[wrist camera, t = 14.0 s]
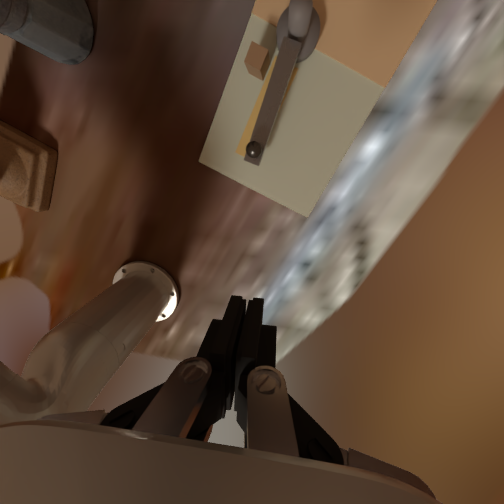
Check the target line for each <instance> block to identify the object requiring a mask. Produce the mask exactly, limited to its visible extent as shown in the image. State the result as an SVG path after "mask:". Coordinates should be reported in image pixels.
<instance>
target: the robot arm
mask: <svg viewBox="0 0 504 504" xmlns="http://www.w3.org/2000/svg"><path fill="white" fill-rule="evenodd" d="M178 302H179V292H178V288H177V286H176V283H175V281H174V280H173V279H172V277H171V276H170V275H169V274H168V273H167V272H166V271H165V270H164V269H162V268H161V267H159V266H157V265H155V264H153V263H150V262H146V261H134V262H130V263H128V264H126V265H124V266H122V267H121V268H120V269H119V270H118V271H117V272H116V274H115V276H114V279H113V285H112V286H110V287H109V288H107V289H106V290H105V291H103V292H102V293H101V294H99V295H98V296H97V297H95V298H94V299H93V300H91V301H90V302H88V303H87V304H86V305H84V306H83V307H82V308H80V309H79V310H78V311H76V312H75V313H74V314H72V315H71V316H69V317H68V318H67V319H65V320H64V321H63V322H61V323H60V324H59V325H57V326H56V327H55V328H53V329H52V330H51V331H49V332H48V333H47V334H45V335H44V336H43V337H42V338H41V339H40V340H39V341H38V343H37V344H36V345H35V347H34V348H33V350H32V351H31V353H30V355H29V357H28V359H27V362H26V364H25V367H24V369H23V373H22V375H21V377H20V376H19V375H18V374H15V373H14V372H13V371H11V370H10V369H9V368H8V367H7V366H6V365H4V364H3V363H2V362H1V361H0V504H443V503H441V502H440V501H438V500H436V498H435V495H434V494H433V492H432V491H431V490H430V488H429V487H428V485H426V484H425V483H424V482H423V481H422V480H421V479H420V478H419V477H418V476H416V475H414V474H412V473H411V472H408V471H406V470H404V469H401V468H399V467H396V466H394V465H391V464H388V463H386V462H383V461H381V460H378V459H376V458H373V457H371V456H369V455H366V454H363V453H361V452H359V451H356V450H354V449H351V448H348V451H347V450H344V449H342V448H339V446H338V445H337V444H336V442H335V441H334V440H333V439H332V438H331V437H330V436H329V435H328V434H327V433H326V431H324V429H323V428H322V427H321V426H320V425H319V424H318V423H317V422H315V420H314V419H313V418H312V417H311V416H310V415H309V414H308V413H307V412H306V411H305V410H304V409H303V408H302V407H301V406H300V405H299V404H298V403H297V402H296V401H295V400H294V399H293V398H292V397H291V396H290V395H289V394H288V393H287V388H286V382H285V379H284V376H283V375H282V374H281V372H280V371H278V370H277V369H276V368H275V362H276V331H277V326H270V325H262V318H263V304H264V299H262V298H253V300H249V302H248V306H247V311H246V300H245V299H242V296H233V295H232V296H231V298H230V301H229V303H228V306H227V309H226V312H225V314H224V317H223V320H217V319H213V320H212V322H211V324H210V326H209V328H208V331H207V333H206V335H205V338H204V340H203V342H202V344H201V347H200V349H199V351H198V354H197V356H196V357H190V358H187V359H185V360H183V361H182V362H180V363H179V364H178V365H177V366H176V368H175V369H174V371H173V372H172V373H171V375H170V376H169V378H168V379H167V381H166V382H164V383H163V384H161V385H159V386H157V387H155V388H153V389H151V390H149V391H147V392H145V393H143V394H141V395H139V396H138V397H135V398H133V399H131V400H129V401H128V402H126V403H124V404H122V405H120V406H118V407H116V408H115V409H113V410H112V411H111V412H110V413H106V412H105V410H96V411H87V410H88V408H89V407H90V405H91V404H92V403H93V401H94V400H95V398H96V397H97V396H98V394H99V393H100V392H101V390H102V389H103V388H104V386H105V385H106V384H107V382H108V381H109V380H110V379H111V377H112V376H113V375H114V374H115V372H116V371H117V370H118V369H119V367H120V366H121V365H122V364H123V362H124V361H125V360H126V358H127V357H128V356H129V355H130V353H131V352H132V351H133V350H134V348H135V347H136V346H137V345H138V343H139V342H140V341H141V339H142V338H143V337H144V336H145V334H146V333H147V332H148V331H149V329H150V328H151V327H152V325H153V324H154V323H155V322H156V321H161V320H164V319H166V318H168V317H169V316H170V315H171V314H172V313H173V312H174V311H175V309H176V308H177V305H178ZM245 314H246V315H245ZM234 392H235V405H234V411H237V422H238V424H239V425H240V427H241V428H242V429H243V431H244V448H240V447H235V446H228V445H222V444H216V443H210V442H208V439H209V437H210V434H211V432H212V428H213V424H214V423H216V422H217V421H218V420H220V419H221V418H224V417H225V413H226V410H231V407H232V402H233V396H234Z"/></svg>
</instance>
